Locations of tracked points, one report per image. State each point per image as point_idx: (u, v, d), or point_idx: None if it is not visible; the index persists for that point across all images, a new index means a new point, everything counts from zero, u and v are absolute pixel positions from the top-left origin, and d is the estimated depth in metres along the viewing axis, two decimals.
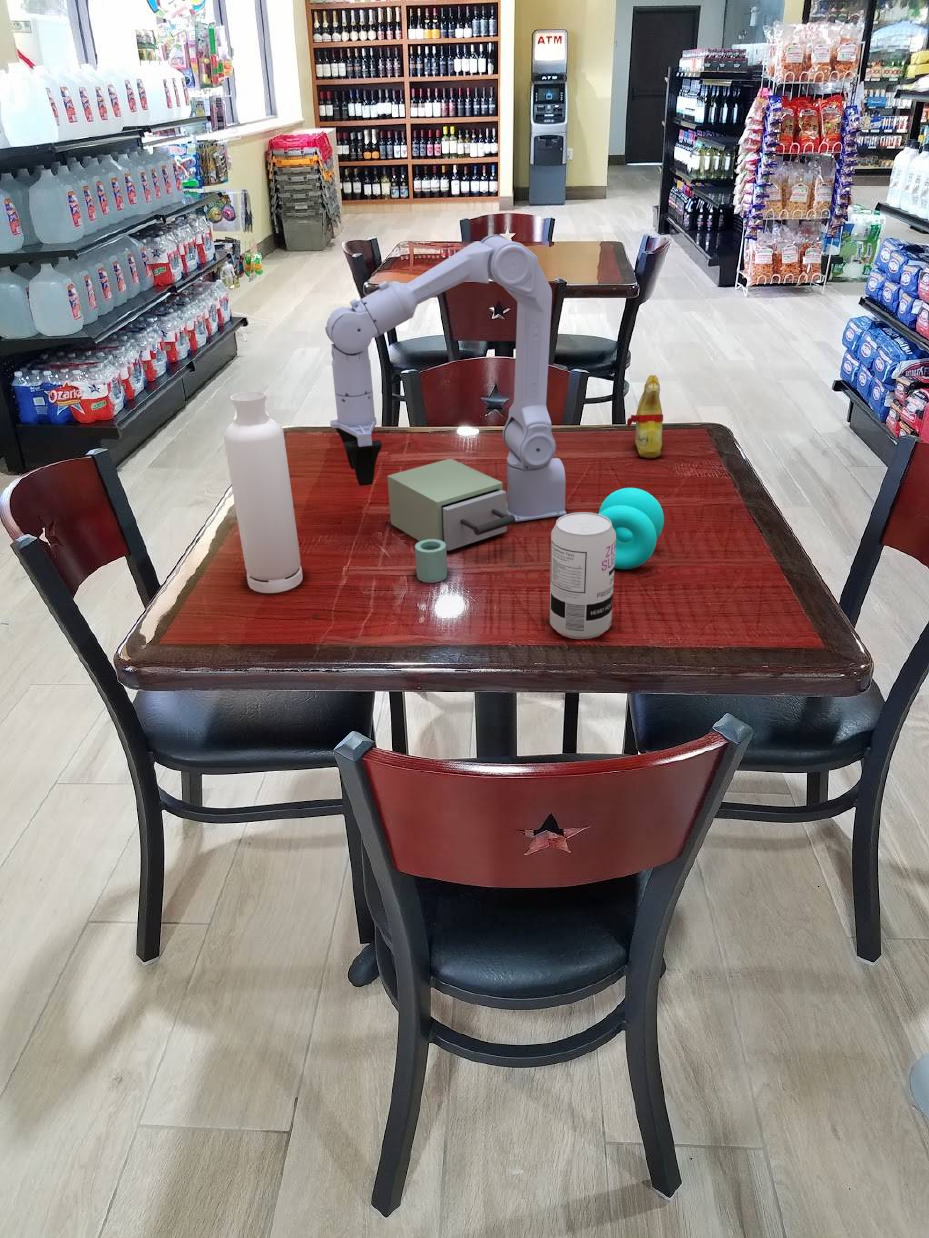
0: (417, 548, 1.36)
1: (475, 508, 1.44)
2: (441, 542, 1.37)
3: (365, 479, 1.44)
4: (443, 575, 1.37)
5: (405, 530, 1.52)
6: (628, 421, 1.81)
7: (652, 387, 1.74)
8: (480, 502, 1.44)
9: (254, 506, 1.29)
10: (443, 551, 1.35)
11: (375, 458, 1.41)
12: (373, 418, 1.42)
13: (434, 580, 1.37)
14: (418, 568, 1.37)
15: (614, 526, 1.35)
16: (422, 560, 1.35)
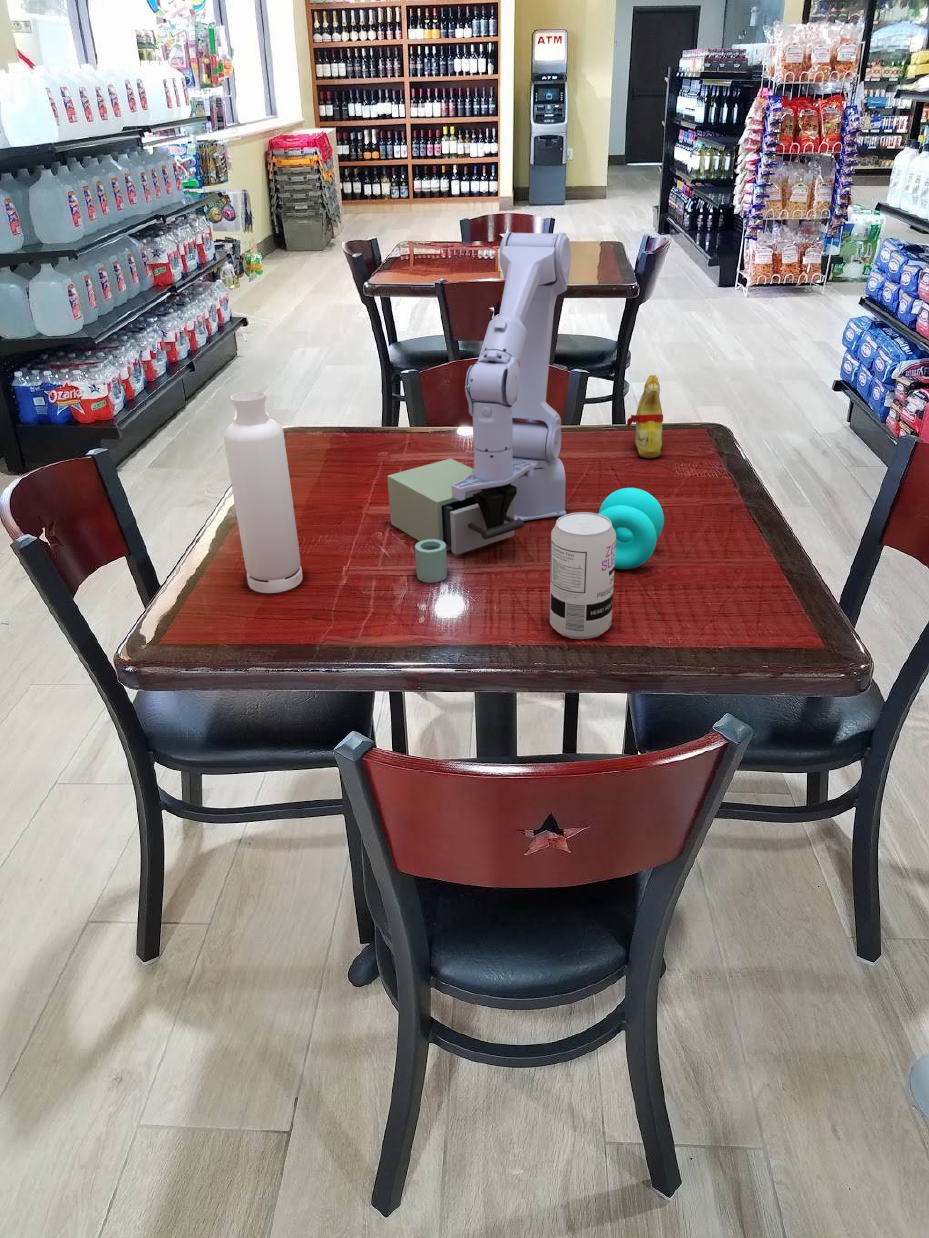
0: (417, 548, 1.36)
1: None
2: (441, 542, 1.37)
3: (490, 526, 1.41)
4: (443, 575, 1.37)
5: (405, 530, 1.52)
6: (628, 421, 1.81)
7: (652, 387, 1.74)
8: None
9: (254, 506, 1.29)
10: (443, 551, 1.35)
11: (492, 509, 1.38)
12: (497, 478, 1.35)
13: (434, 580, 1.37)
14: (418, 568, 1.37)
15: (614, 526, 1.35)
16: (422, 560, 1.35)
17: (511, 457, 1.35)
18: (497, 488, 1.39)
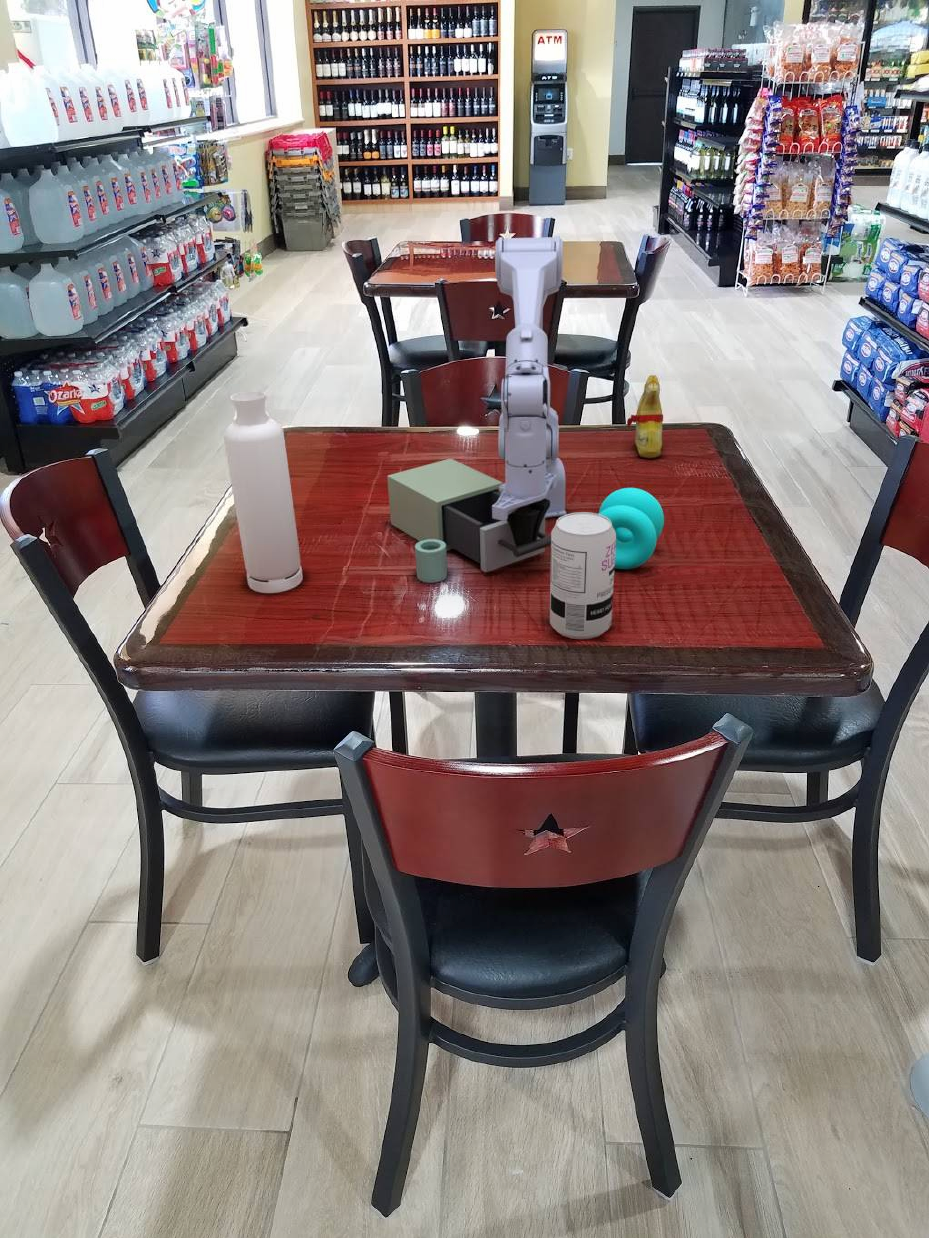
0: (417, 548, 1.36)
1: None
2: (441, 542, 1.37)
3: (521, 544, 1.36)
4: (443, 575, 1.37)
5: (405, 530, 1.52)
6: (628, 421, 1.81)
7: (652, 387, 1.74)
8: None
9: (254, 506, 1.29)
10: (443, 551, 1.35)
11: (528, 527, 1.32)
12: (535, 494, 1.30)
13: (434, 580, 1.37)
14: (418, 568, 1.37)
15: (614, 526, 1.35)
16: (422, 560, 1.35)
17: (545, 470, 1.31)
18: (530, 503, 1.34)
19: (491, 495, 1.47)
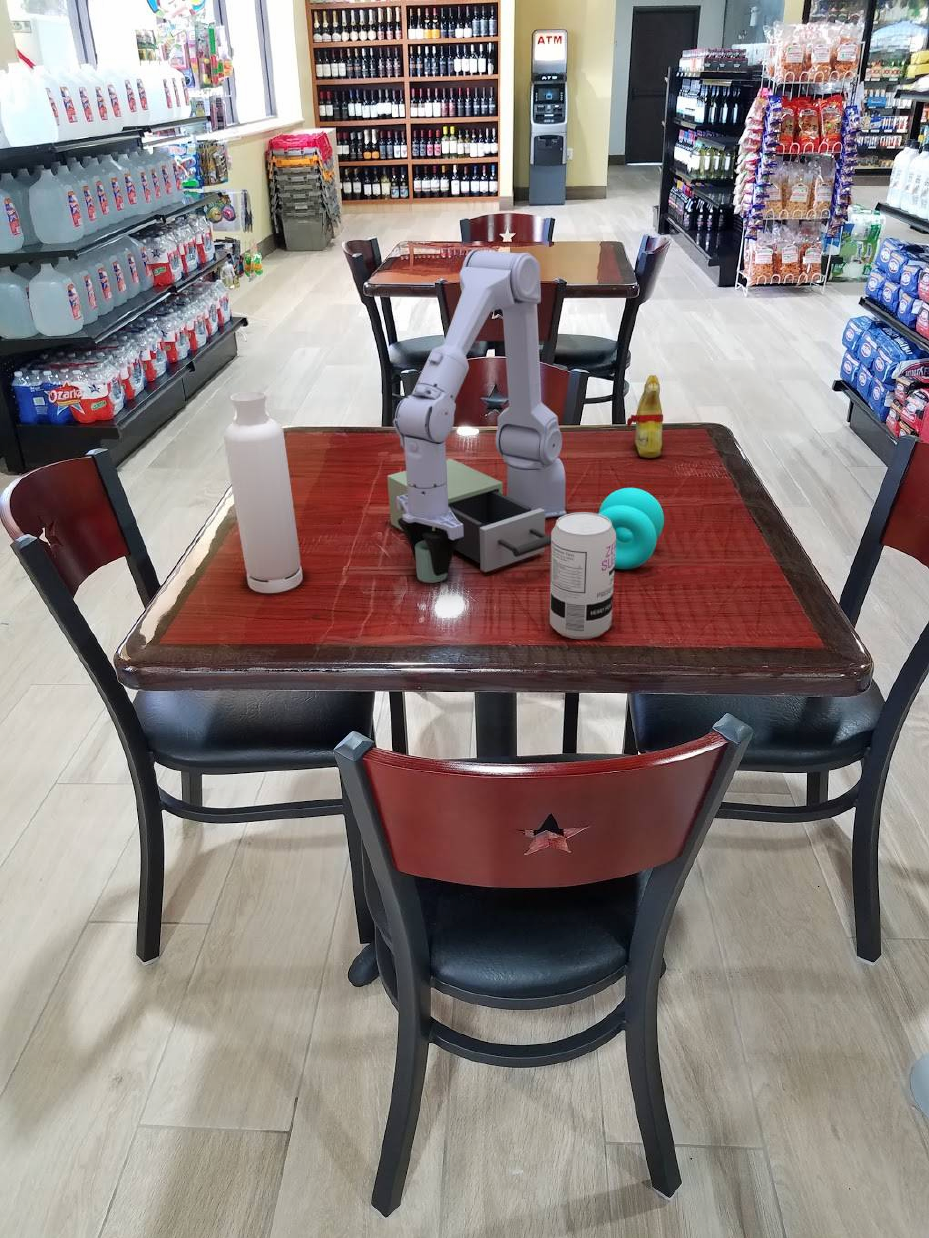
0: (417, 548, 1.36)
1: (513, 528, 1.37)
2: None
3: (442, 568, 1.35)
4: (443, 575, 1.37)
5: None
6: (628, 421, 1.81)
7: (652, 387, 1.74)
8: (518, 521, 1.37)
9: (254, 506, 1.29)
10: None
11: (454, 545, 1.34)
12: None
13: (434, 580, 1.37)
14: (418, 568, 1.37)
15: (614, 526, 1.35)
16: (422, 560, 1.35)
17: None
18: None
19: (491, 495, 1.48)
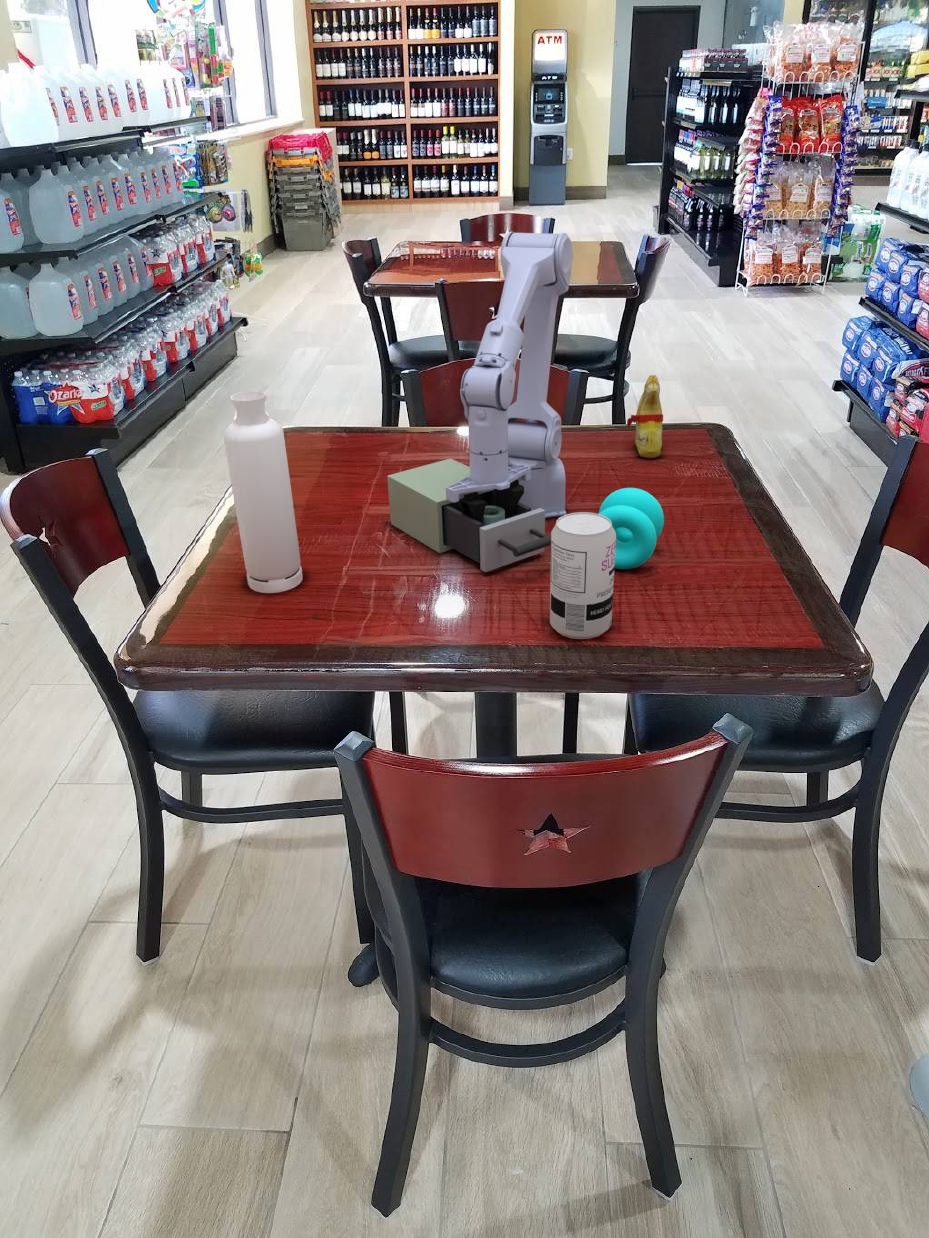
0: (496, 516, 1.40)
1: (513, 528, 1.37)
2: None
3: None
4: None
5: (405, 530, 1.52)
6: (628, 421, 1.81)
7: (652, 387, 1.74)
8: (518, 521, 1.37)
9: (254, 506, 1.29)
10: None
11: None
12: None
13: None
14: None
15: (614, 526, 1.35)
16: None
17: None
18: None
19: (491, 495, 1.48)
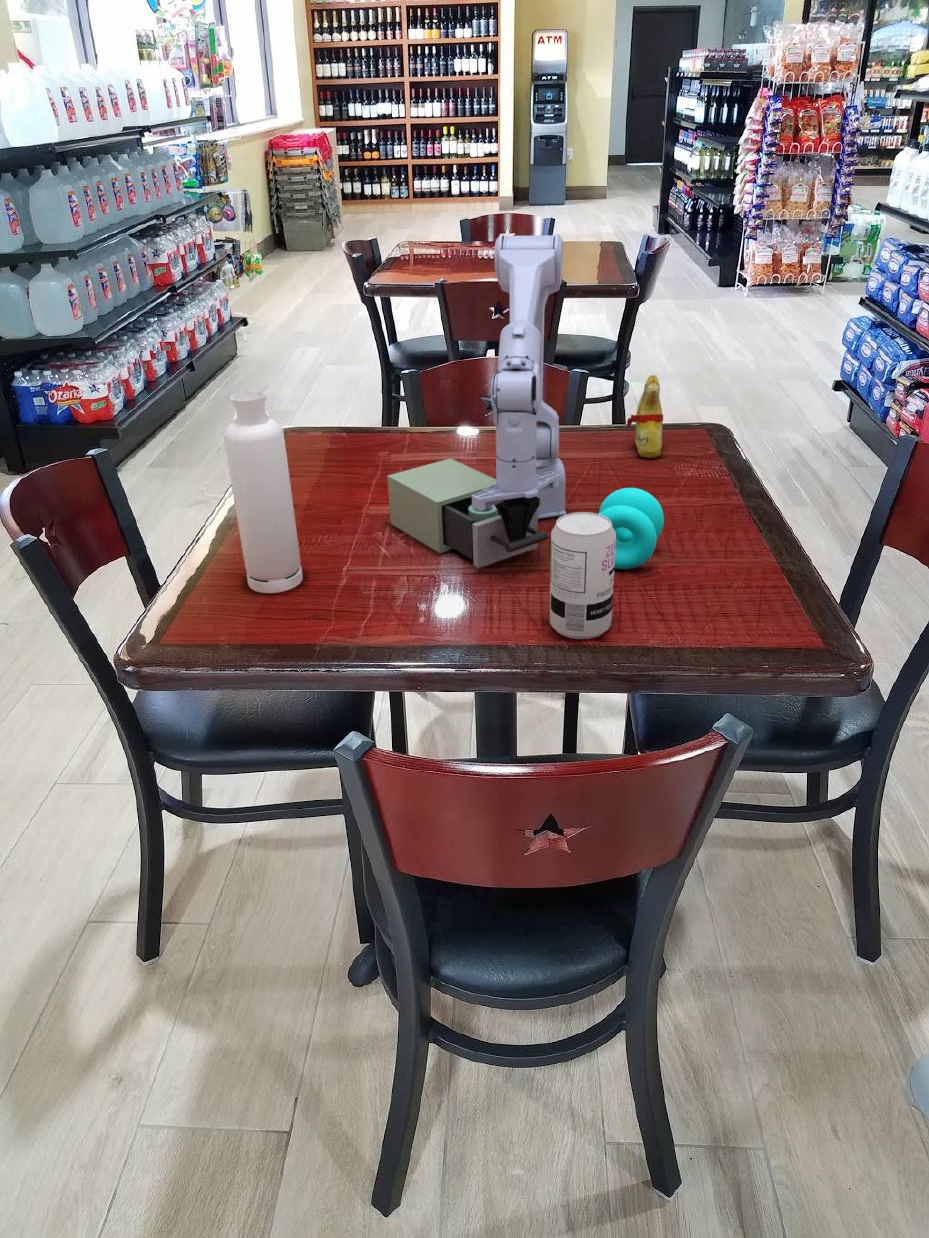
0: (489, 512, 1.41)
1: None
2: None
3: None
4: None
5: (405, 530, 1.52)
6: (628, 421, 1.81)
7: (652, 387, 1.74)
8: None
9: (254, 506, 1.29)
10: None
11: None
12: None
13: None
14: None
15: (614, 526, 1.35)
16: None
17: None
18: None
19: None
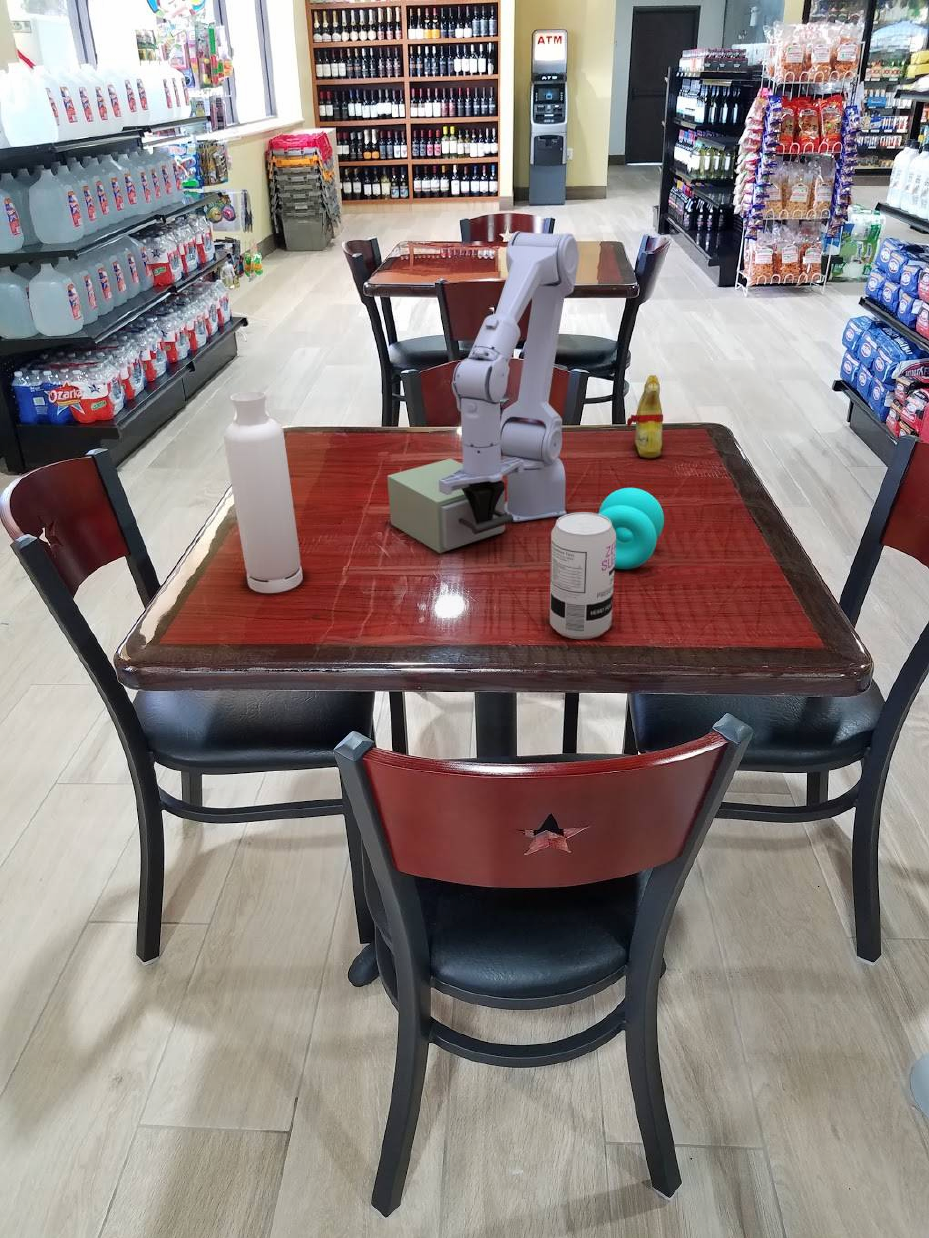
0: None
1: None
2: None
3: None
4: None
5: (405, 530, 1.52)
6: (628, 421, 1.81)
7: (652, 387, 1.74)
8: None
9: (254, 506, 1.29)
10: None
11: None
12: None
13: None
14: None
15: (614, 526, 1.35)
16: None
17: None
18: None
19: None
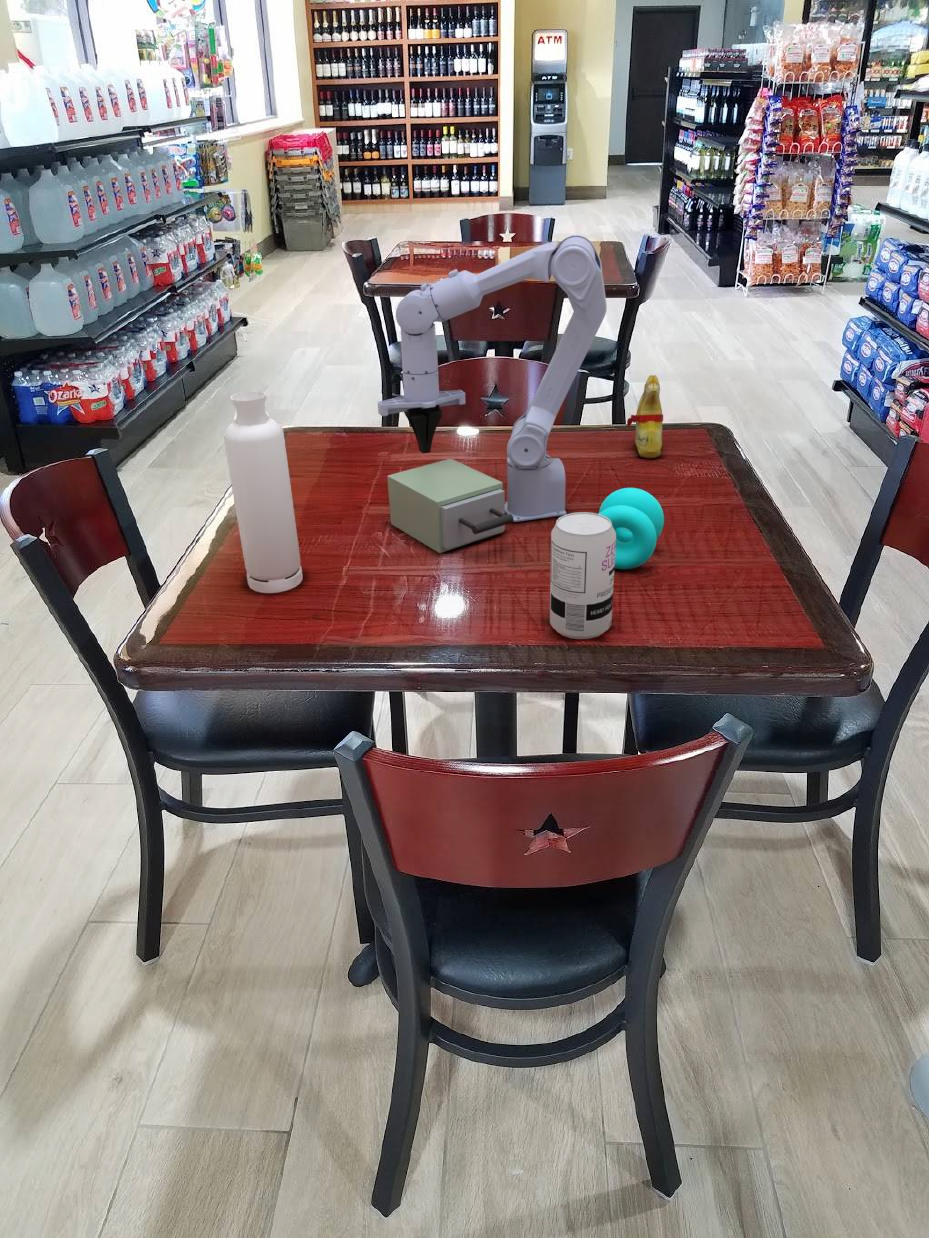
0: None
1: (474, 507, 1.44)
2: None
3: None
4: None
5: (405, 530, 1.52)
6: (628, 421, 1.81)
7: (652, 387, 1.74)
8: (478, 501, 1.44)
9: (254, 506, 1.29)
10: None
11: None
12: None
13: None
14: None
15: (614, 526, 1.35)
16: None
17: None
18: None
19: None
